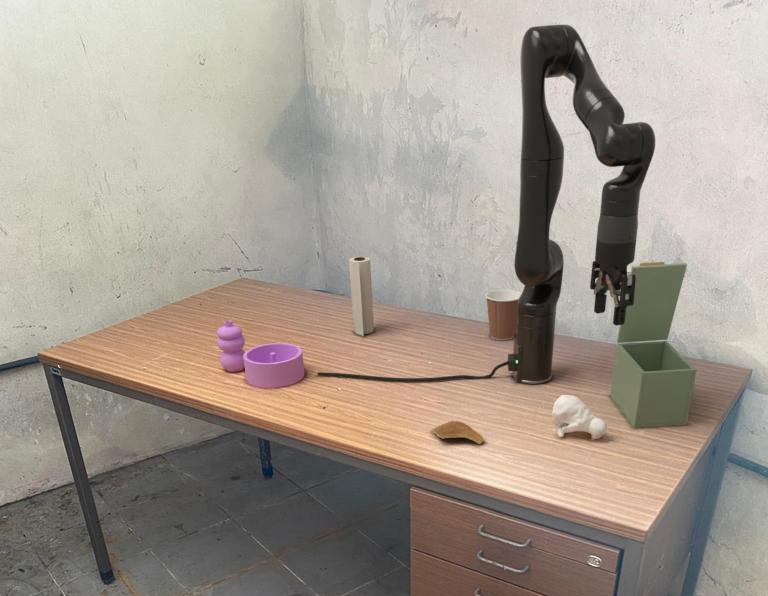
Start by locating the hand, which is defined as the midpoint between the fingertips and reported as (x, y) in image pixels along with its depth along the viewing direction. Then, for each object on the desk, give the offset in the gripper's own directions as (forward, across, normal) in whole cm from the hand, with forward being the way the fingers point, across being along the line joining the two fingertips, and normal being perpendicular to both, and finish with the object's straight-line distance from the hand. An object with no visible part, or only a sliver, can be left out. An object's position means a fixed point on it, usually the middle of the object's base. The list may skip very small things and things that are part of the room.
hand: (608, 318), depth 158 cm
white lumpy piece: (+24, -5, +7) cm, 25 cm away
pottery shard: (+23, +3, +32) cm, 40 cm away
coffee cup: (+23, +59, +1) cm, 64 cm away
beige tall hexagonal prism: (+22, +77, +38) cm, 89 cm away
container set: (+22, +54, +71) cm, 92 cm away
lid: (+2, +9, -14) cm, 17 cm away
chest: (+24, +2, -13) cm, 27 cm away
